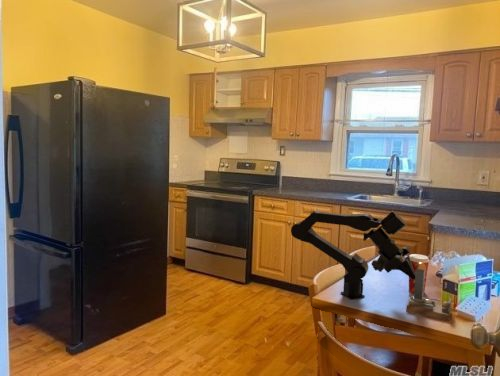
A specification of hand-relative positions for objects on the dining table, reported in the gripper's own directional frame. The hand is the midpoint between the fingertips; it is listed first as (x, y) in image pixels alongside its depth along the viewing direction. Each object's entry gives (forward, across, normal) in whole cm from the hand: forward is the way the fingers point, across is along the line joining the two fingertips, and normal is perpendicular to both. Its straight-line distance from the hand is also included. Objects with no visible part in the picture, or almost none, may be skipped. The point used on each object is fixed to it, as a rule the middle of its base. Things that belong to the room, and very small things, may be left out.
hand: (414, 278), depth 132 cm
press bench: (+11, 0, -4) cm, 12 cm away
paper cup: (+7, -18, -9) cm, 21 cm away
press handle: (+8, 0, -4) cm, 9 cm away
